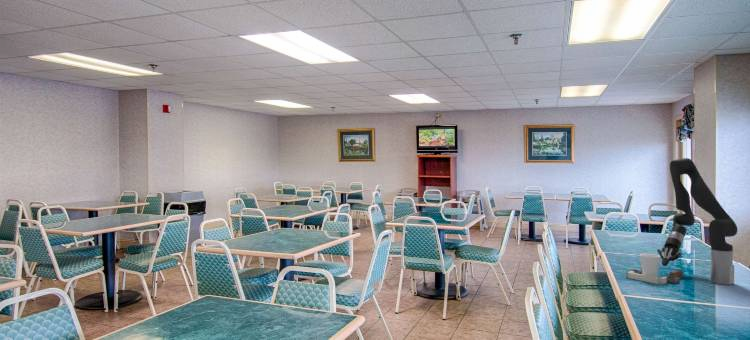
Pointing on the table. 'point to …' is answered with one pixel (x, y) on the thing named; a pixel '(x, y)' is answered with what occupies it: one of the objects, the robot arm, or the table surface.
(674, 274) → the channel
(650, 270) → the foam cup
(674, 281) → the pit
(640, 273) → the pit
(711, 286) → the table surface
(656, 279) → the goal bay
